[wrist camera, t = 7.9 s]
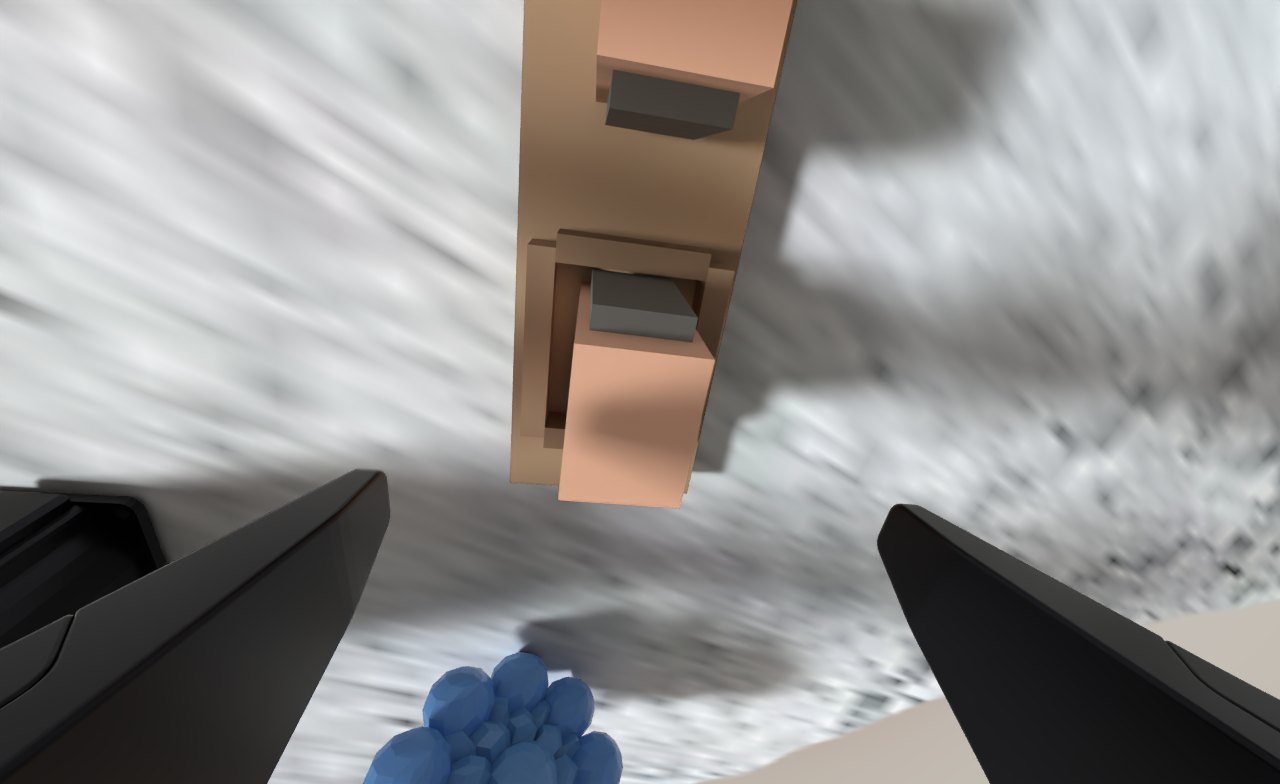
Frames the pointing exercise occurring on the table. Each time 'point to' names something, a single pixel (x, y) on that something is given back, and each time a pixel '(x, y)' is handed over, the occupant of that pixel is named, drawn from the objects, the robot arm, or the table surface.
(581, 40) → the rail
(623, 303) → the salmon and grey block
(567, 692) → the grapes
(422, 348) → the table surface
